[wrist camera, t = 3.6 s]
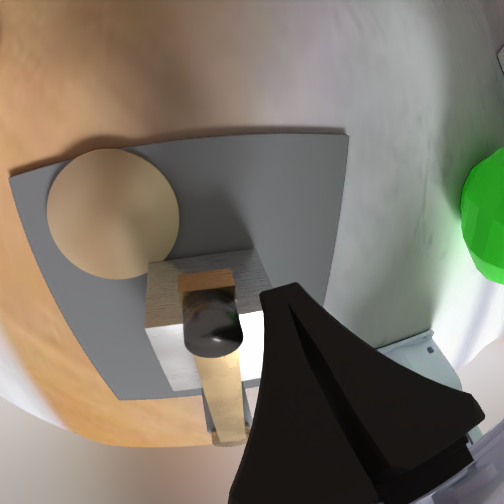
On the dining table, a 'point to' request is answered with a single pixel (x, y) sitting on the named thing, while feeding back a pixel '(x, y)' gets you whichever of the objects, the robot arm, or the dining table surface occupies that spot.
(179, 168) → the base
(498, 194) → the plastic bottle
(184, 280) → the latch
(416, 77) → the dining table surface
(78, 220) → the beige flat disc
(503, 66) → the coffee box
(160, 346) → the grey block
